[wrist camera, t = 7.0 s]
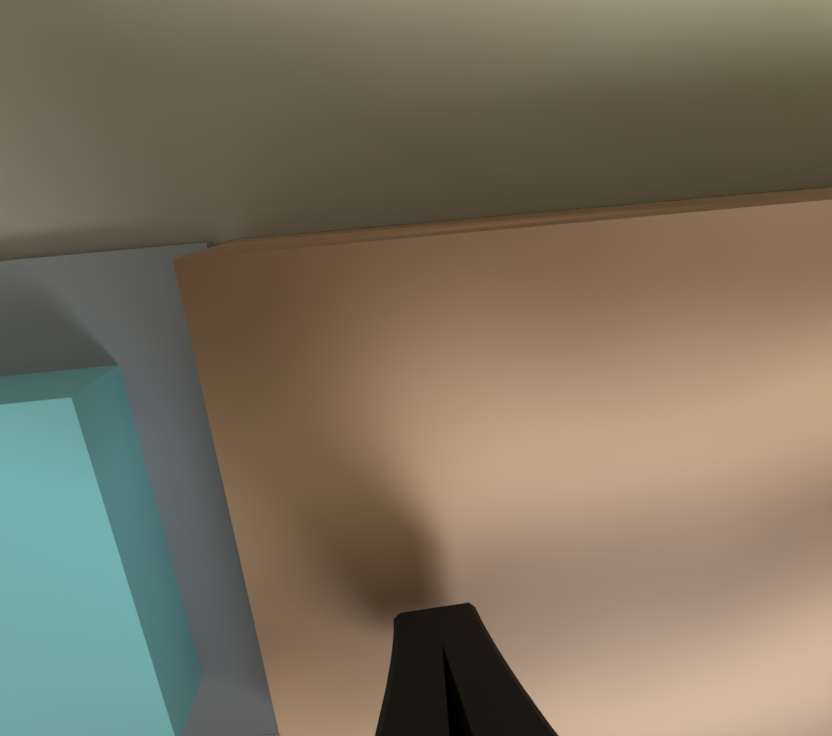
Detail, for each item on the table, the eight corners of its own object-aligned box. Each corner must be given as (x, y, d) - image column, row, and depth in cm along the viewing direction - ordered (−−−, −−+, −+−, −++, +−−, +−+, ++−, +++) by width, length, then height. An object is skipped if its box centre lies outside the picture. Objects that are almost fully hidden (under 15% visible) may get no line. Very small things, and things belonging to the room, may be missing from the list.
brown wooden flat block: (817, 636, 17) (950, 761, 13) (322, 714, 16) (311, 878, 12) (913, 179, 12) (1155, 169, 9) (235, 239, 11) (173, 259, 7)
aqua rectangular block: (-91, 789, 12) (-29, 708, 14) (178, 748, 12) (202, 675, 14) (-286, 434, 9) (-176, 394, 11) (71, 397, 10) (118, 364, 11)
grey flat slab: (306, 716, 16) (305, 729, 15) (-82, 777, 15) (-94, 793, 14) (211, 241, 11) (206, 243, 11) (-349, 291, 10) (-375, 295, 10)
